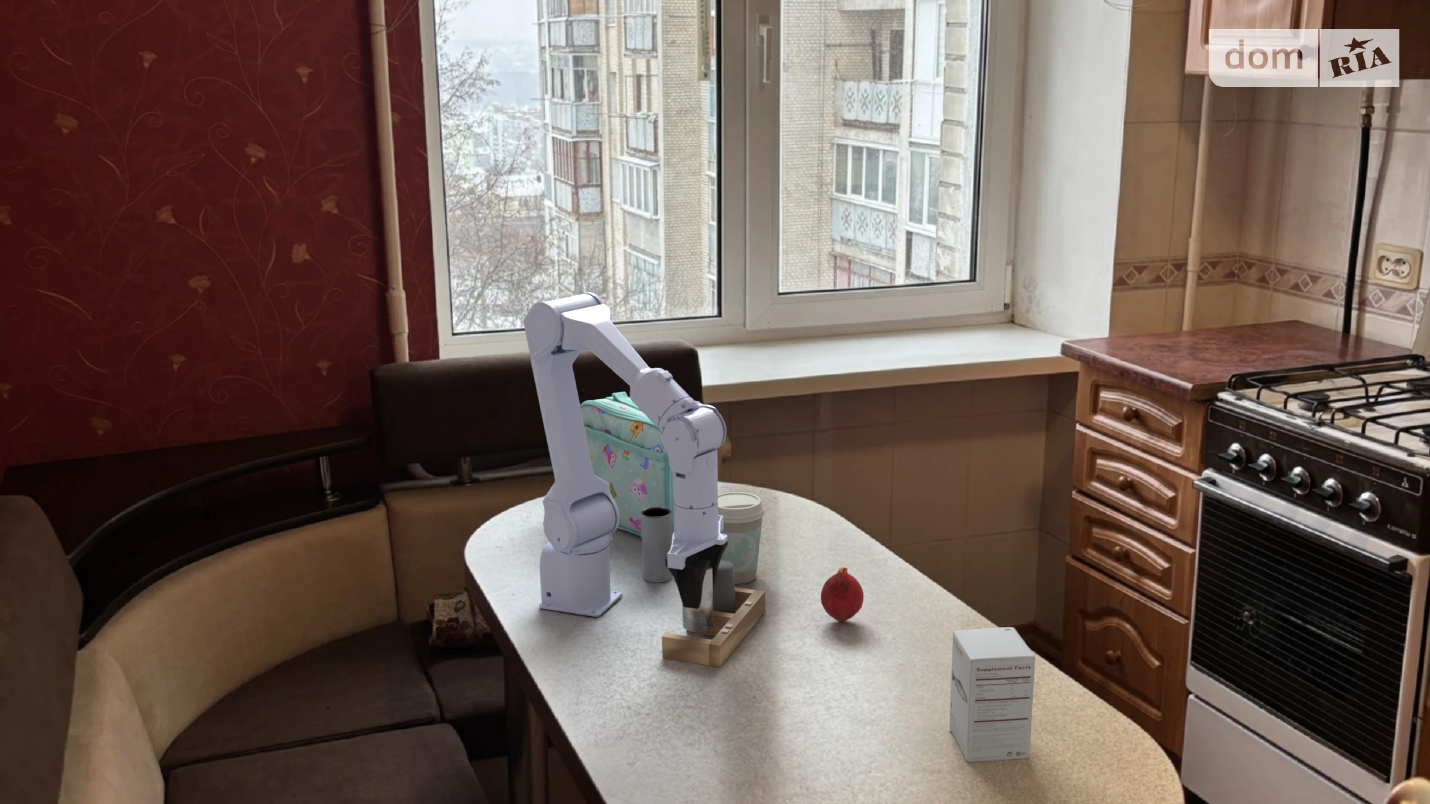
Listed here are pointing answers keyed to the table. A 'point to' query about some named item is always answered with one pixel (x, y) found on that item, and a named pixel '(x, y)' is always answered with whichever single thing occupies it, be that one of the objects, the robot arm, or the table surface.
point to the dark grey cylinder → (724, 588)
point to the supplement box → (991, 694)
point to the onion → (842, 596)
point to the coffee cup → (741, 532)
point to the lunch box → (628, 457)
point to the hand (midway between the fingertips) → (698, 599)
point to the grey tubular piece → (656, 543)
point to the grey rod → (701, 608)
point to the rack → (718, 632)
